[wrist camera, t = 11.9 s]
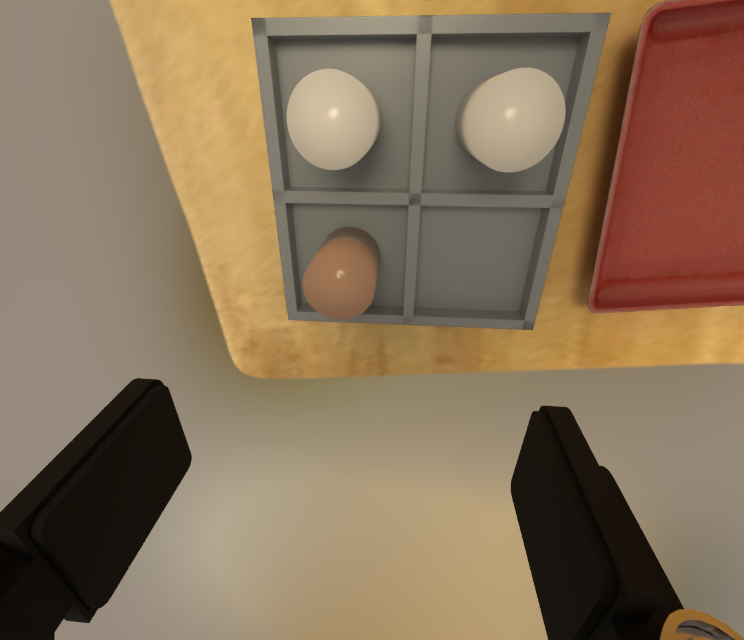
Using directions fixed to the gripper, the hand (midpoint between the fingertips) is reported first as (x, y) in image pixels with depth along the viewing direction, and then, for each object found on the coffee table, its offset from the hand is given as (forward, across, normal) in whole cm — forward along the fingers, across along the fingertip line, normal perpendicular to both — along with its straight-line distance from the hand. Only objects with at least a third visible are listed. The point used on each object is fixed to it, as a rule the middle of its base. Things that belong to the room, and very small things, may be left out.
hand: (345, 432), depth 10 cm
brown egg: (+20, +3, +3) cm, 21 cm away
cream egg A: (+21, +3, -6) cm, 22 cm away
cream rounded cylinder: (+21, -6, -6) cm, 23 cm away
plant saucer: (+22, -23, -4) cm, 32 cm away
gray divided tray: (+21, -2, -2) cm, 21 cm away
